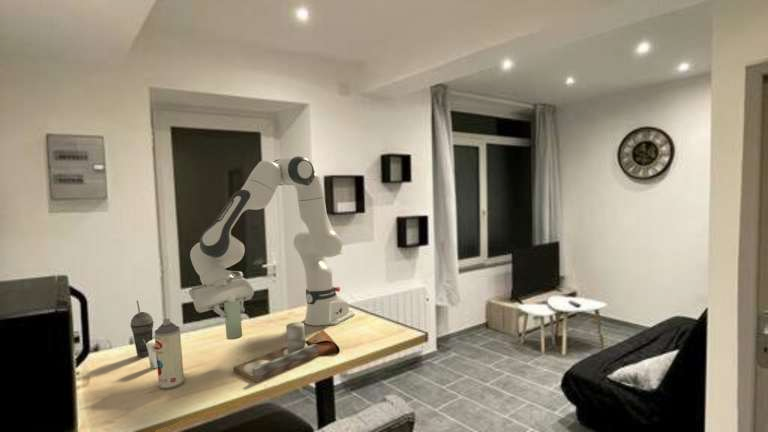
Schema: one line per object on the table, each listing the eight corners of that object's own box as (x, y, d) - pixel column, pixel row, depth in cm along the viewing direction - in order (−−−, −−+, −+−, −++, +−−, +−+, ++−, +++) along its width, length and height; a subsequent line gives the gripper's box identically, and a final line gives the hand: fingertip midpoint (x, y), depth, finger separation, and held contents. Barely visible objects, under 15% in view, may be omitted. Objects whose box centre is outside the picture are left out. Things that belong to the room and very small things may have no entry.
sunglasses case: (303, 340, 160) (311, 324, 161) (319, 346, 163) (327, 330, 163) (316, 358, 143) (325, 339, 144) (334, 364, 146) (342, 346, 147)
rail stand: (295, 347, 154) (294, 318, 153) (319, 355, 145) (317, 325, 144) (233, 371, 135) (231, 338, 134) (256, 382, 127) (254, 347, 126)
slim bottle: (237, 333, 147) (234, 293, 146) (245, 336, 144) (242, 295, 143) (223, 337, 143) (220, 296, 142) (231, 340, 140) (228, 299, 139)
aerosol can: (157, 383, 129) (151, 319, 127) (181, 377, 133) (176, 314, 131) (160, 392, 123) (155, 324, 122) (186, 384, 127) (181, 319, 126)
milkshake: (146, 366, 142) (143, 337, 142) (164, 362, 145) (161, 334, 144) (144, 371, 138) (142, 341, 138) (163, 367, 140) (160, 338, 140)
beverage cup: (146, 359, 148) (141, 303, 146) (128, 359, 149) (123, 303, 148) (161, 351, 155) (156, 297, 153) (143, 350, 156) (139, 297, 155)
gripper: (189, 282, 139) (206, 317, 133) (245, 270, 154) (263, 301, 148) (184, 294, 142) (200, 328, 136) (240, 281, 157) (256, 311, 152)
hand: (233, 314), depth 142 cm, fingers closed on slim bottle, 5 cm apart
